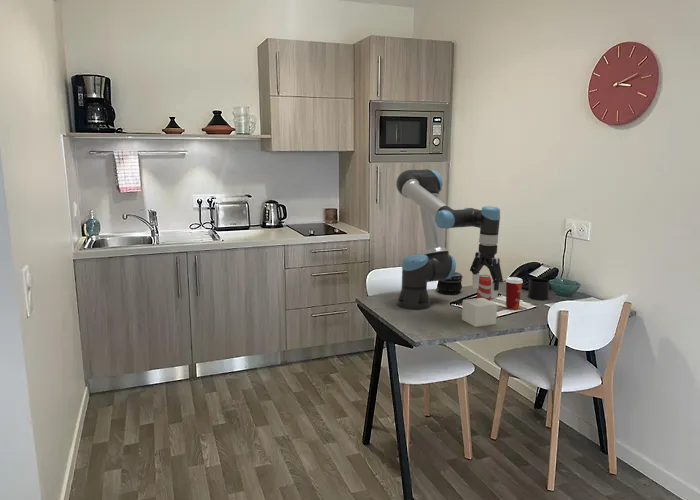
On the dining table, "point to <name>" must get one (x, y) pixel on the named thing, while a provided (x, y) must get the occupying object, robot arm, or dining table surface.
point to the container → (451, 285)
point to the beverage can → (484, 287)
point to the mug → (538, 289)
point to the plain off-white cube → (479, 312)
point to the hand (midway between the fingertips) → (484, 293)
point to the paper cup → (513, 292)
